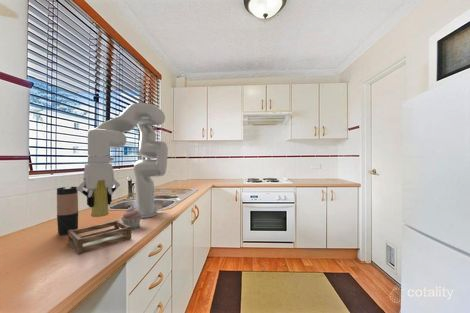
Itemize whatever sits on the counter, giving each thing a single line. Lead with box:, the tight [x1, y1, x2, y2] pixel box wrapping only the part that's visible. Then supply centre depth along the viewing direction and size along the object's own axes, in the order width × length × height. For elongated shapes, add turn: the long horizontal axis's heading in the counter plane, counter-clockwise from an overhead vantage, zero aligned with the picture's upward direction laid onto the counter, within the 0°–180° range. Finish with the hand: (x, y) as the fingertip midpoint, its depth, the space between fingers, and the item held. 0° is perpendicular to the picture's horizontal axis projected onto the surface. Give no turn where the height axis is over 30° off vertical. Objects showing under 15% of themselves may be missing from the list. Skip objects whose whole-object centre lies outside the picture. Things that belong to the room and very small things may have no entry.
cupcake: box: [120, 206, 143, 230], centre depth 107 cm, size 9×9×10 cm
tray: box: [67, 219, 132, 255], centre depth 90 cm, size 18×14×5 cm
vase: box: [90, 180, 109, 218], centre depth 89 cm, size 6×6×14 cm
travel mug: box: [56, 186, 79, 236], centre depth 101 cm, size 8×8×20 cm
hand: (99, 205), depth 89 cm, fingers closed on vase, 5 cm apart
